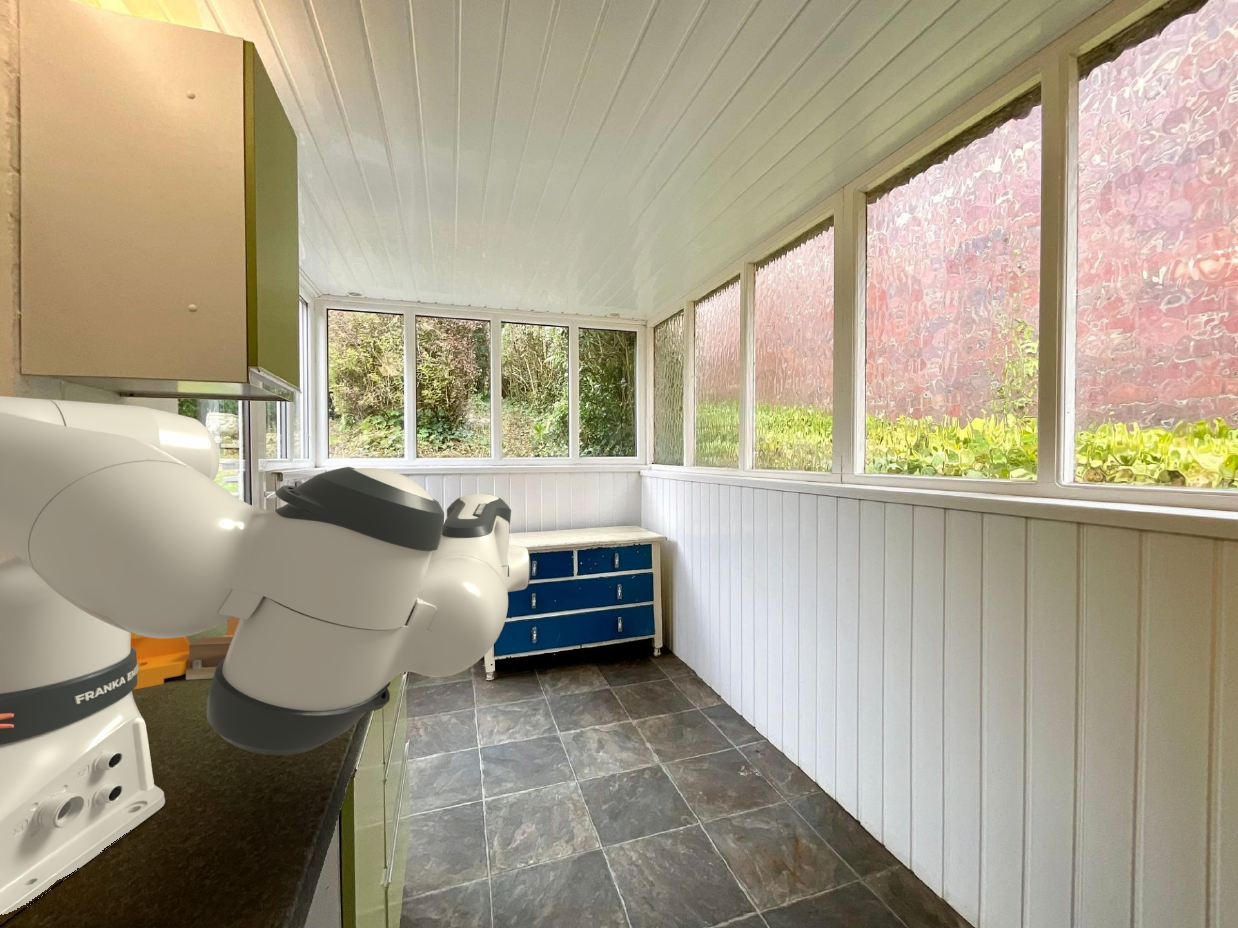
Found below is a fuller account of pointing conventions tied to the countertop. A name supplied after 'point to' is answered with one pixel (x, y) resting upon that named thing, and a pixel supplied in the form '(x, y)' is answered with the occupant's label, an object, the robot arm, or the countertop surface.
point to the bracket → (160, 658)
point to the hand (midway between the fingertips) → (352, 570)
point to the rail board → (206, 656)
